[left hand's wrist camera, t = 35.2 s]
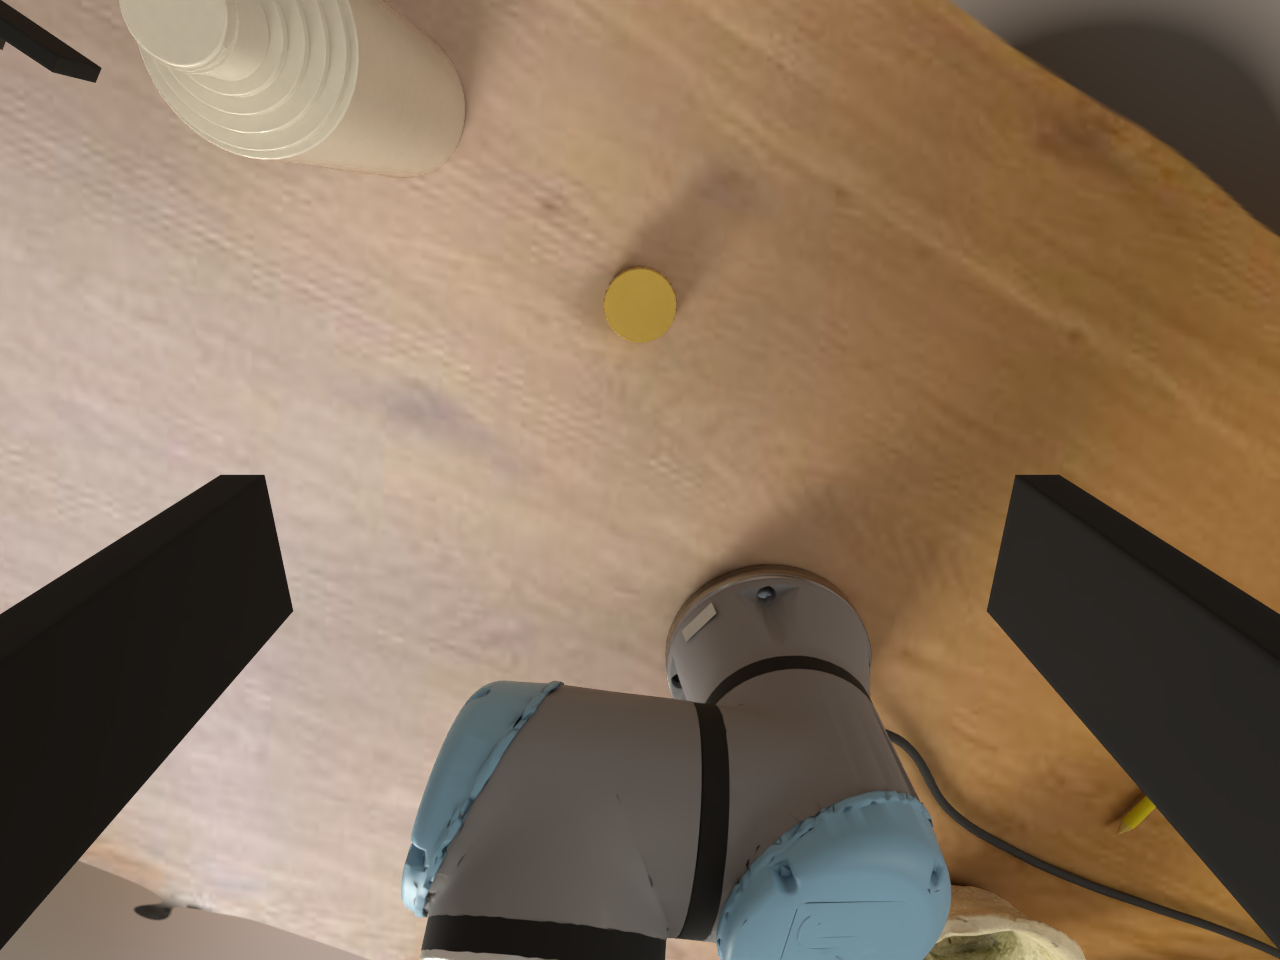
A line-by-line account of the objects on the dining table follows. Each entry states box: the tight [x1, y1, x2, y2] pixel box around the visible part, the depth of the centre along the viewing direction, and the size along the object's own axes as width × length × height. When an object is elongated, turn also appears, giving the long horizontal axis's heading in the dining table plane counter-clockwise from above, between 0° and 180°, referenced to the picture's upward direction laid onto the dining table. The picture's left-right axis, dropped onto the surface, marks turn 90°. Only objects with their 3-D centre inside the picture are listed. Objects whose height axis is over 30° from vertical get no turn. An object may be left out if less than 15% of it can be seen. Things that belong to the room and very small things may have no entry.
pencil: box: [1117, 796, 1156, 835], centre depth 57 cm, size 16×1×1 cm, turn 153°
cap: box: [604, 266, 677, 342], centre depth 43 cm, size 4×4×2 cm
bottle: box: [118, 0, 465, 178], centre depth 30 cm, size 8×8×21 cm
